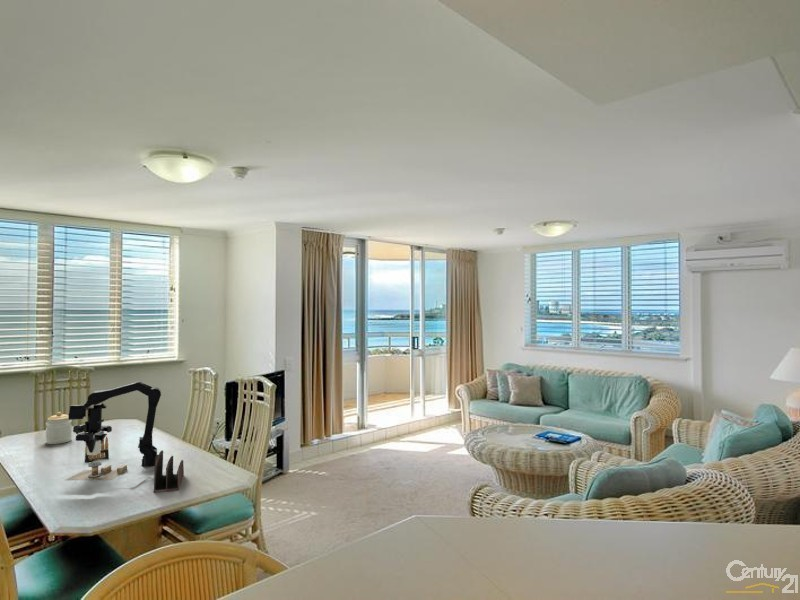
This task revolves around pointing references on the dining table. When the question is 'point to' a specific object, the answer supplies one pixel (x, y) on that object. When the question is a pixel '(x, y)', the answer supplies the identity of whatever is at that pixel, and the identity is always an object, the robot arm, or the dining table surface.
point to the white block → (95, 448)
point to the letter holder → (167, 475)
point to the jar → (58, 429)
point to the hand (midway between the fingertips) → (93, 451)
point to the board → (84, 476)
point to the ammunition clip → (102, 455)
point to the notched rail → (108, 468)
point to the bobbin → (94, 469)
